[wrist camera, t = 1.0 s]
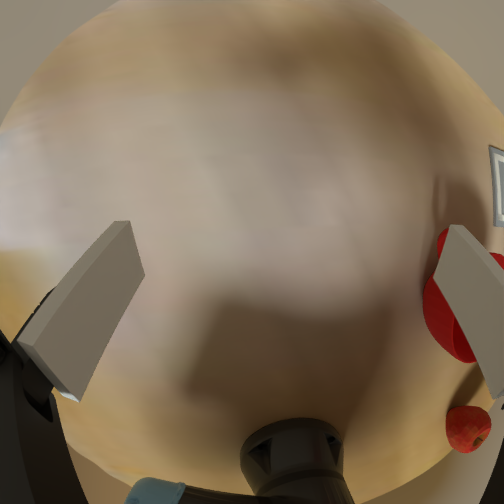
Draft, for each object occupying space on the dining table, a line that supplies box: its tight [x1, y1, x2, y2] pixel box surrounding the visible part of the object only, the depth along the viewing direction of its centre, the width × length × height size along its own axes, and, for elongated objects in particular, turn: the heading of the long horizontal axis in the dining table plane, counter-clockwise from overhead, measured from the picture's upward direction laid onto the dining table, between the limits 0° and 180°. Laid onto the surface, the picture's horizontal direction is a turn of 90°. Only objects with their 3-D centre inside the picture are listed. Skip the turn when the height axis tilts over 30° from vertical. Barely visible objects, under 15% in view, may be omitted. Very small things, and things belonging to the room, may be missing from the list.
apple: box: [446, 406, 491, 453], centre depth 30 cm, size 9×8×11 cm
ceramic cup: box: [423, 228, 504, 363], centre depth 27 cm, size 13×17×10 cm
